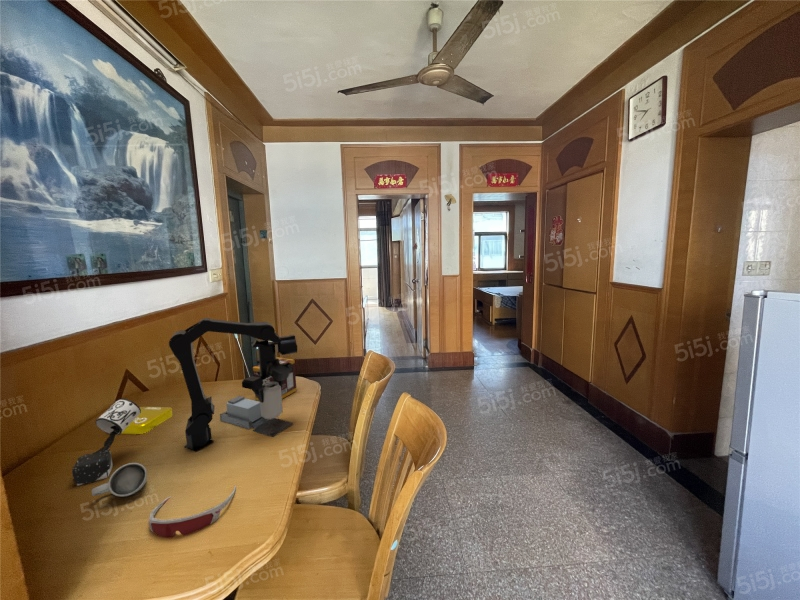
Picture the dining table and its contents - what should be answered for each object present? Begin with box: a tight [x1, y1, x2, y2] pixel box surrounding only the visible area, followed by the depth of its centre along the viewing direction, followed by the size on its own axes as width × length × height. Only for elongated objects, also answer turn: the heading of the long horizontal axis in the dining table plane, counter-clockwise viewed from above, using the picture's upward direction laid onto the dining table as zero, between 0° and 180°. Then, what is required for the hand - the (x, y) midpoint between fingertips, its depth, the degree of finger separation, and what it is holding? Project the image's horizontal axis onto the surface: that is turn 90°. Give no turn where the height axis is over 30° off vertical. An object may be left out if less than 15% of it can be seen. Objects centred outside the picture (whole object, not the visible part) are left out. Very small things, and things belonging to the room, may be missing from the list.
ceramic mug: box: [91, 462, 148, 498], centre depth 87 cm, size 11×8×8 cm
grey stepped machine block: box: [226, 395, 262, 422], centre depth 127 cm, size 6×12×7 cm, turn 65°
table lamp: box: [71, 398, 141, 487], centre depth 98 cm, size 25×10×10 cm
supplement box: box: [252, 356, 297, 402], centre depth 149 cm, size 10×15×16 cm
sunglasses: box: [148, 484, 237, 538], centre depth 81 cm, size 17×17×5 cm
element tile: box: [120, 406, 173, 435], centre depth 126 cm, size 15×15×5 cm
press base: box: [219, 410, 294, 438], centre depth 125 cm, size 10×28×3 cm, turn 65°
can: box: [259, 382, 284, 419], centre depth 120 cm, size 8×8×12 cm
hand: (270, 398), depth 120 cm, fingers closed on can, 7 cm apart
